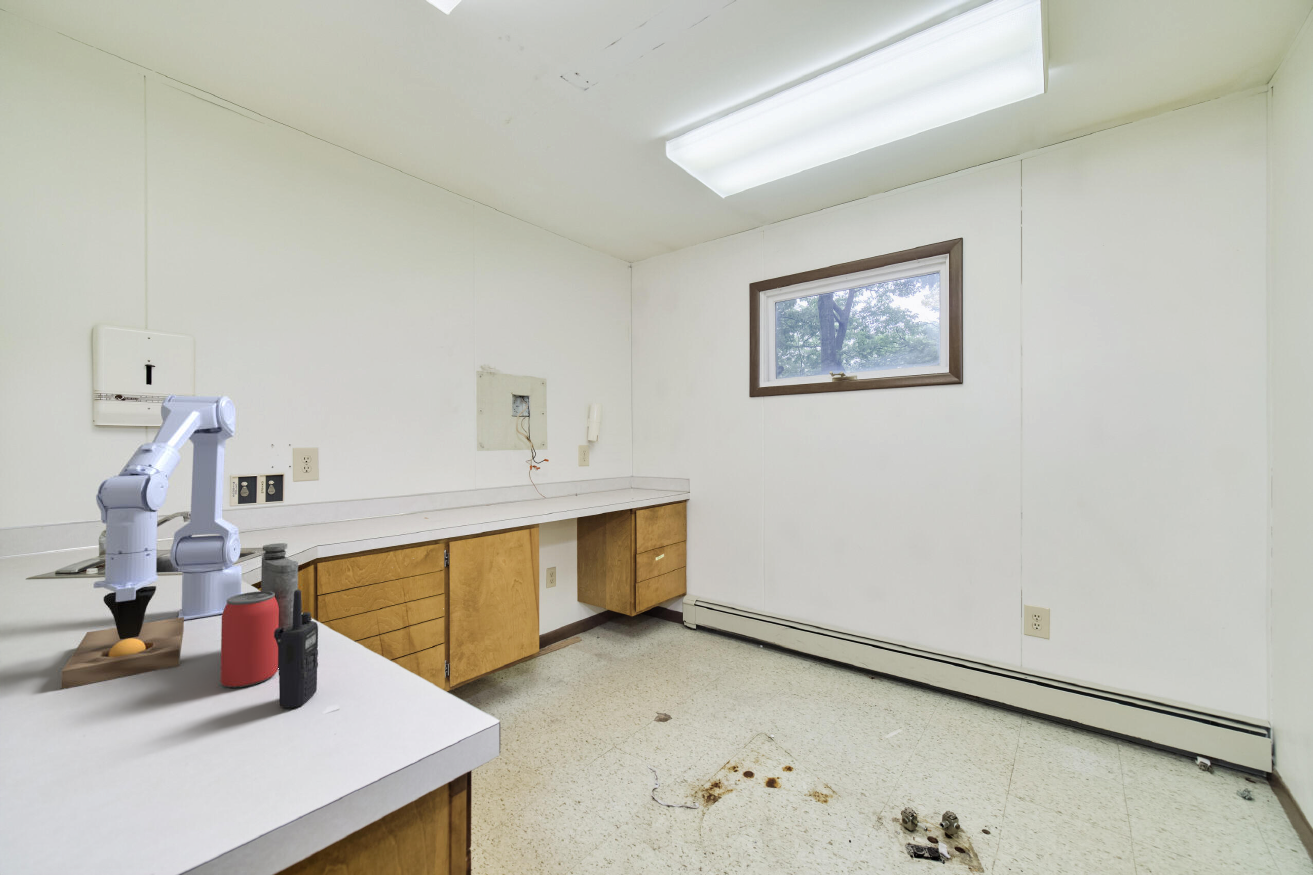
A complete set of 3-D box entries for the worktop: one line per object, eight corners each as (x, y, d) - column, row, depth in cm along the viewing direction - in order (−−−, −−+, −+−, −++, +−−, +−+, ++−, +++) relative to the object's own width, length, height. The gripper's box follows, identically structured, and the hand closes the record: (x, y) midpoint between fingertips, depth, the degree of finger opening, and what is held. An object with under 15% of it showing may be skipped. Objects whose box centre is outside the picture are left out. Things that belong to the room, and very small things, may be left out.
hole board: (183, 630, 95) (183, 616, 95) (178, 665, 80) (179, 649, 80) (86, 646, 87) (87, 632, 87) (61, 689, 72) (61, 671, 72)
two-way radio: (300, 710, 66) (302, 592, 66) (262, 712, 66) (264, 594, 66) (321, 690, 72) (323, 581, 72) (286, 692, 71) (288, 582, 71)
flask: (269, 672, 77) (271, 552, 78) (253, 646, 87) (255, 539, 88) (298, 665, 80) (300, 548, 80) (280, 640, 90) (281, 537, 90)
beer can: (287, 674, 77) (289, 593, 77) (236, 693, 71) (237, 605, 71) (261, 666, 79) (263, 588, 80) (210, 684, 73) (211, 599, 74)
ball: (144, 641, 79) (143, 666, 79) (147, 632, 83) (146, 657, 83) (106, 646, 77) (105, 673, 77) (111, 637, 80) (110, 663, 80)
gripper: (102, 547, 85) (100, 630, 85) (86, 562, 74) (84, 657, 74) (161, 542, 90) (159, 620, 89) (154, 555, 79) (153, 645, 78)
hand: (129, 636), depth 82 cm, fingers closed
